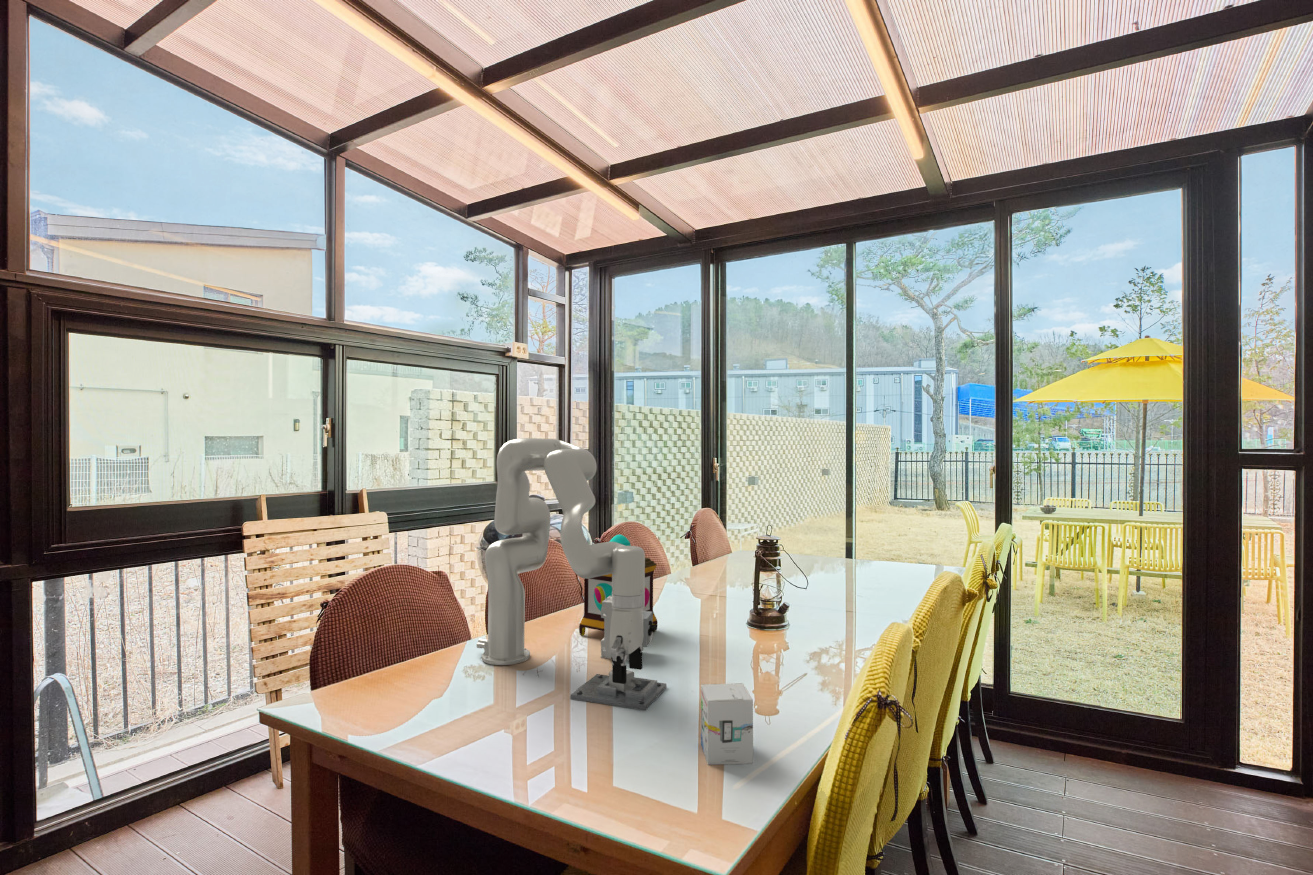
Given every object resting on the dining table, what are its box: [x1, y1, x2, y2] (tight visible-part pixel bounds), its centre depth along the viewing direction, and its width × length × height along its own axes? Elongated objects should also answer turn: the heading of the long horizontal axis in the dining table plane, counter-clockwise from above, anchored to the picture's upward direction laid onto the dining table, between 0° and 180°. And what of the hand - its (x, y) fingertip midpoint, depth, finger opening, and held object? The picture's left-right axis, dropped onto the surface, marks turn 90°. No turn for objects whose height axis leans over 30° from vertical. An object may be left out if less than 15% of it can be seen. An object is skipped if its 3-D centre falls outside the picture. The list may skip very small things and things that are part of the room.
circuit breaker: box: [600, 596, 658, 661], centre depth 178 cm, size 8×14×15 cm, turn 78°
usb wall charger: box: [608, 669, 641, 692], centre depth 150 cm, size 4×7×4 cm, turn 54°
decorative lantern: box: [578, 534, 658, 636], centre depth 199 cm, size 20×20×30 cm
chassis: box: [570, 673, 667, 711], centre depth 151 cm, size 18×14×2 cm
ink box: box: [700, 682, 754, 766], centre depth 122 cm, size 8×8×12 cm
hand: (627, 675), depth 150 cm, fingers open, 9 cm apart
